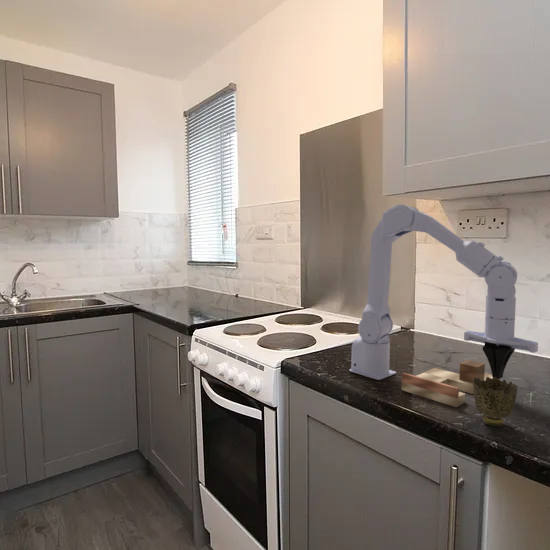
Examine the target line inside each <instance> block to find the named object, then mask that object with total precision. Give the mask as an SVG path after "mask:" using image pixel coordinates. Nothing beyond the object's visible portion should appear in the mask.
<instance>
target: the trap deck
mask: <svg viewBox="0 0 550 550" xmlns="http://www.w3.org/2000/svg"><path fill="white" fill-rule="evenodd" d="M459 375H460V373H456V372H454V371H449V370H444V369H441V368H437V367H434V368H431V369H429V370H427V371H425V372H422V373H420V374H417V375H414V374H410V373H407V372H402V373H401V391H404V392H407V393H411V394H413V395H417V396H419V397H422V398H426V399H429V400H433V401H435V402H439V403H442V404H444V405H448V406H451V407H454V408H457V407H460V406H461V405H463V404H464V403H466V393H468V394H471V395H474V388H473V383H470V382H466V381H462V380H459ZM486 377H489V378H491V379H492V378H493V377H492V373H491V374H490V373H487V372H485V374H484V381H485V380H486Z"/></svg>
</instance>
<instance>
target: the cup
mask: <svg viewBox="0 0 550 550" xmlns="http://www.w3.org/2000/svg"><path fill="white" fill-rule="evenodd" d="M473 388H474V394H473V398H474V403H475V407H476V409H477V411H478V412H479V413H480V414H482V417H481V418H482V421H483V422H484V423H485V424H487V425H489V426H492V427H502V426H503V425H504V423H505V419H507V418H509V417H510V415H511V414H512V413H513V411H514V407H515V403H516V399H517V392H518V385H516V383H513V382H512V381H510V382H507V381H506V379H503V381H501V379H498V378H497V377H494V378H492V379H491V378H489V377H486V380H485V381H484V380H482V381H481V380H480V378H479V377H478V379H477V378H474V380H473Z"/></svg>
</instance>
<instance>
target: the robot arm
mask: <svg viewBox="0 0 550 550" xmlns="http://www.w3.org/2000/svg"><path fill="white" fill-rule="evenodd" d="M380 219H381V220H380V221H379V222H378V224H377V225H376V227H375V229H374V230H373V232H372V233H371V238H370V239H371V240H370V254H369V255H370V256H369V269H368V270H369V271H368V272H369V273H368V283H367V285H368V286H367V302H366V305H365V307H364V309H363V311H362V317H361V320H360V321H359V323H358V326H357V329H358V332H357V333H358V335H359V336H358V337H356V338H355V339H354V340H353V342H352V345H351V366H350V367H351V368H350V369H349V372H350V373H353V374H354V373H355V374H358V375H360V376H361V375H362V376H363V377H367V378H370V379H374V380H378V381H380V380H383V379H386V378H389V377H391V376H393V375H396V374H397V371H395V370H392V369H390V356H391V355H390V348H391V347H390V346H391V345H390V344H391V342H390V341H391V338H390V336H389V334H390V333H391V331H392V330H393V326H394V323H393V320H392V317H391V308H390V305H389V293H390V291H389V290H390V281H391V280H390V277H391V266H392V265H391V263H392V249H393V248H392V246H393V243H394V242H396V241H397V240H399V238H401V237H402V236H403V235H407V234H409V233H411V232H418V233H426V234H427V235H429V236H430V237H432V238H434V239H435V240H436V241H438V242H440V243H441V244H442V245H444V246H446V247H447V248H449V249H450V250H452V251H453V252H454V254H455V259H456V261H457V262H458V263H460V264H461V265H462V266H464V267H465V268H467V269H468V270H469V271H471V272H472V273H473V274H475V275H476V276H478V277H479V278H484V281H485V283H486V285H487V290H486V291H487V294H486V297H485V314H484V315H485V316H484V318H485V319H484V320H485V321H484V332H481V331H480V332H479V331H471V330H470V331H469V330H467V331H464V332H463V333H464V334H463V341H467V342H469V341H471V342H476V343H481V344H484V345H483V346H481V347H482V351H483V352H484V355H485V356H486V359H487V361H488V364H489V366H490V367H489V368H490V371H491V375H492V377H493V378H494V377H497V378H498V379H499V380H501V379H502V378H503V376H504V373H505V368H506V366H507V364H508V362H509V361H510V359H511V357H512V355H513V354H514V352H515V350H521V351H527V352H529V353H533V354H535V353H537V352H538V349H539V341H532V340H530V339H529V340H527V339H525V338H520V337H516V336H515V328H516V326H515V324H516V303H517V302H516V301H517V297H516V293H517V290H516V286H515V285H516V283H517V281H518V271H517V269H516V268H515V267H514V266H513V265H512V263H510V262H508V261H504V259H505V258H504V257H503V256H501V255H499V256H497V255H496V254H495V253H493V252H491V250H489V249H487V248H486V247H485V246H486V244H485V243H484V242H482V241H478V242H477V241H476V240H468V241H467V240H464V239H463V238H461V237H460V236H458V235H457V234H456V233H454V232H453V231H452V230H450V229H449V228H448V227H446V226H445V225H444V224H443V223H441V222H439V221H438V220H437V219H436V218H434V217H433V216H431V215H429V214H428V213H425V212H423V211H419V209H418V208H416V207H413V206H408V205H405V204H401V203H399V204H395V205H392V206H390V207H389V208H388V209H387V210H385V211H384V212H383V213H382V217H381V218H380Z"/></svg>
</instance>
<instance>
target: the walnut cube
mask: <svg viewBox="0 0 550 550" xmlns="http://www.w3.org/2000/svg"><path fill="white" fill-rule="evenodd" d="M485 367H486V364H485V363H483V362H479V361H475V360H469V359H467V360H464V361H462V362H460V363H459V374H460V375H459V380H462V381H466V382H470V383H473V380H474V378H477V379H478V377H479V378H480V380H481V381H482V380H484V374H485V373H486V372H485V371H486V368H485Z"/></svg>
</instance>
